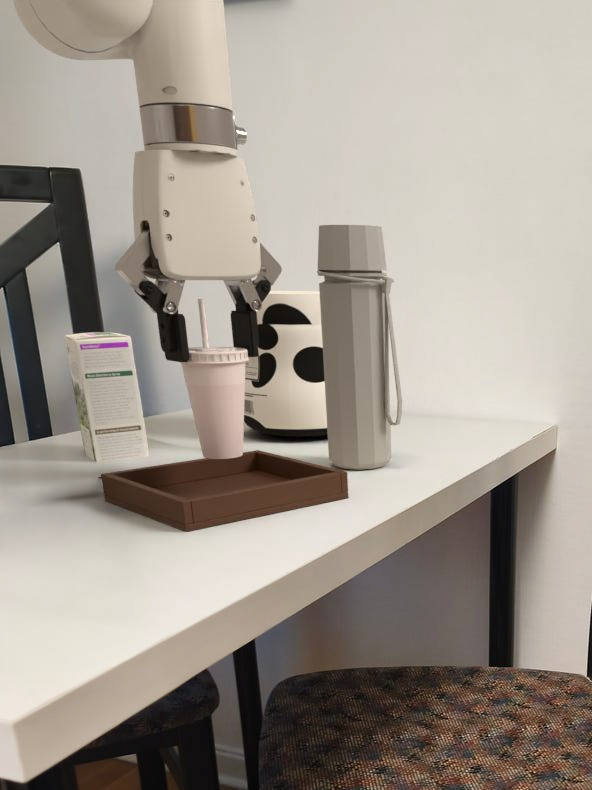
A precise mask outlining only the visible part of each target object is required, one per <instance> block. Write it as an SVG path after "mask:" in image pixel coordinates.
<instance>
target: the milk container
mask: <svg viewBox="0 0 592 790" xmlns="http://www.w3.org/2000/svg"><path fill="white" fill-rule="evenodd" d="M257 323H258V335H259V345H258V356H257V357H248V359H249V360H248V361H246V365H245V399H244V425H246V426H247V427H248V428H250V429H251V430H253V431H254V432H258V433H261V434H266V435H270V436H277V437H279V436H280V437H299V438H300V437H305V438H306V437H321V436H328V432H327V415H326V397H325V379H324V362H323V344H322V326H321V309H320V291H319V290H270V292H269V294H268V295H267V296H266V298H265V299H264V301H263V302H262V308H261V310H260V311H258V312H257Z"/></svg>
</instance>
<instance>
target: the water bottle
mask: <svg viewBox="0 0 592 790" xmlns="http://www.w3.org/2000/svg"><path fill="white" fill-rule="evenodd" d="M317 240H318V243H317V271H316V273H317V276H318V277H323V279H324V281H322V282H320V283H318V288H319V289H318V291H320V309H321V326H322V344H323V362H324V379H325V397H326V415H327V432H328V435H327V446H328V447H327V448H328V449H327V450H328V459H329V460H330V462H331V463H332V464H333V465H334V466H335V467H337V468H340V469H344V470H355V471H356V470H357V471H363V470H374V469H380V468H383V467H384V466H386V465H387V464H389V462H390V461H391V459H392V435H391V434H392V433H391V426H398V425H399V426H400V424H401V419H402V413H403V411H402V410H403V395H402V388H401V381H400V373H399V372H400V371H399V364H398V357H397V356H398V355H397V348H396V340H395V339H396V338H395V333H394V323H393V316H392V307H391V299H390V294H391V289H392V284H393V283H394V282H395V280H394V278H392V277H389V276H388V274H387V273H385V272H384V271H386V272H387V270H388V269H387V262H386V261H387V260H386V252H385V245H384V235H383V227H382V226H381V225H367V224H363V225H362V224H321V225H318V239H317ZM390 345H391V346H390ZM390 347H391V355H392V363H393V364H392V365H393V372H394V373H393V374H394V382H395V391H396V400H397V406H396V408H397V409H396V419H395V422H393V419H392V416H391V400H390V398H391V397H390Z"/></svg>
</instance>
